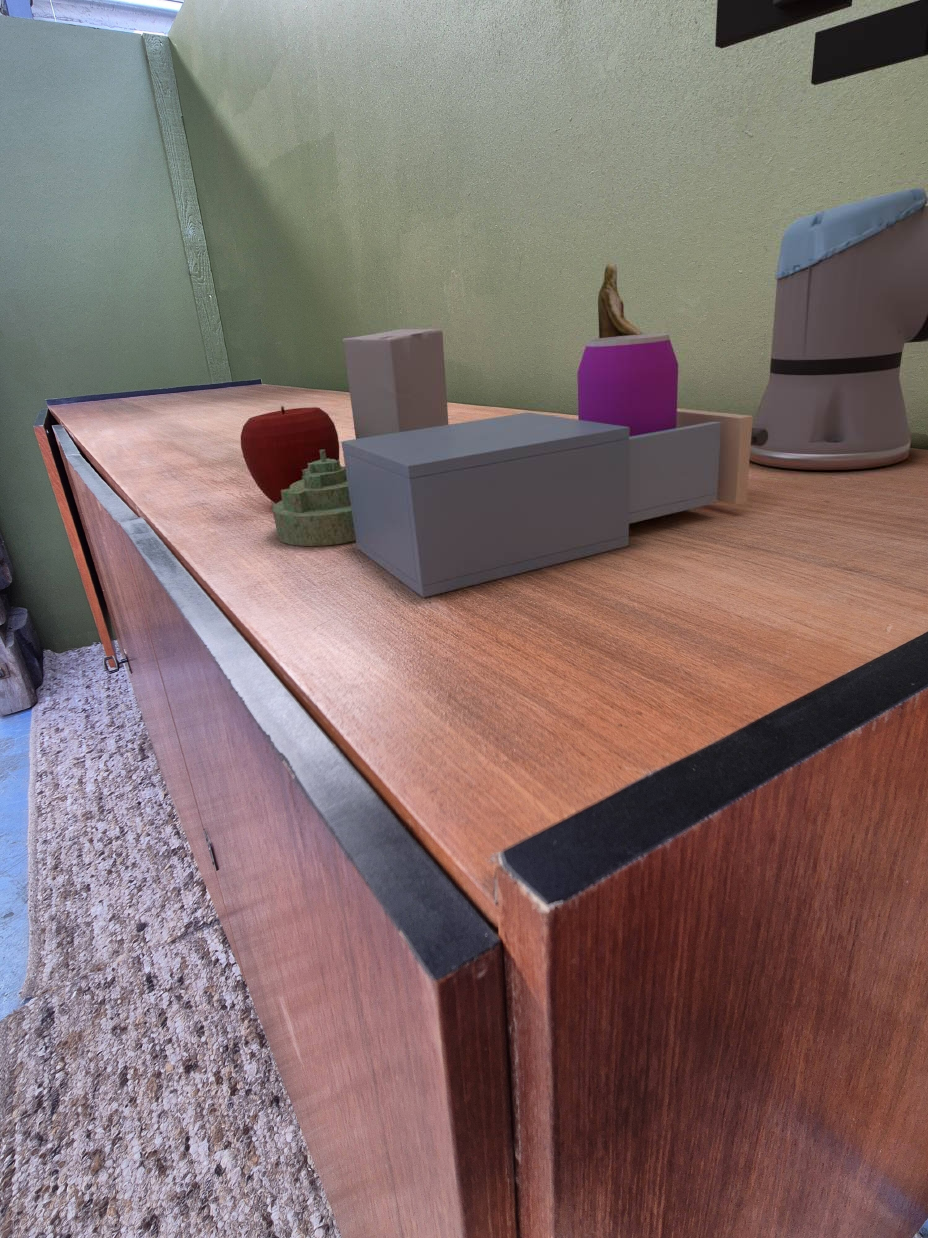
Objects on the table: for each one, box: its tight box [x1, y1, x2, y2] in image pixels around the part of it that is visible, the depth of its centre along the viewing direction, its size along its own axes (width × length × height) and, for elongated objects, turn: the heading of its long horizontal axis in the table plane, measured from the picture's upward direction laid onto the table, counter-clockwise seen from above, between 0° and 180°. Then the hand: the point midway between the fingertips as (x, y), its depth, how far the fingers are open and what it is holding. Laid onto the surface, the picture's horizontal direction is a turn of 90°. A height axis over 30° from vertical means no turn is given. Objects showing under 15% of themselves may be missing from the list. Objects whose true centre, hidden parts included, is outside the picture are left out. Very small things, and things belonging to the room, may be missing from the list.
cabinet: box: [340, 412, 630, 599], centre depth 53 cm, size 17×14×9 cm
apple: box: [240, 405, 340, 505], centre depth 72 cm, size 10×10×10 cm
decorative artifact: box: [272, 450, 356, 547], centre depth 62 cm, size 10×7×10 cm
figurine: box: [597, 262, 645, 339], centre depth 72 cm, size 5×8×20 cm, turn 73°
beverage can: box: [576, 333, 679, 437], centre depth 57 cm, size 8×8×12 cm
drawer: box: [629, 407, 768, 525], centre depth 59 cm, size 20×12×7 cm, turn 116°
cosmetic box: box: [342, 328, 450, 439], centre depth 72 cm, size 8×7×16 cm
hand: (771, 39), depth 42 cm, fingers open, 13 cm apart
